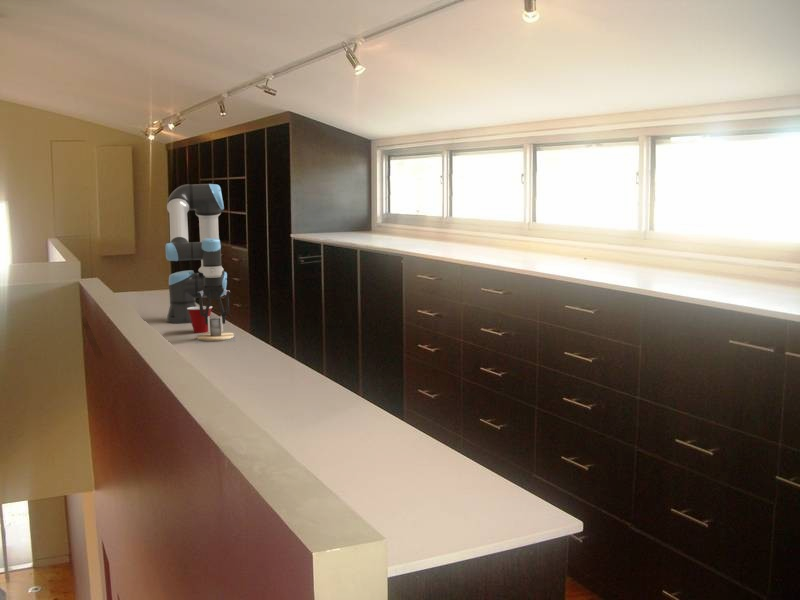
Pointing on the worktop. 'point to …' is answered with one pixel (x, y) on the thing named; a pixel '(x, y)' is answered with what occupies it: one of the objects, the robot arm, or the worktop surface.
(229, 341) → the mat
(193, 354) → the worktop surface
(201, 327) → the plastic cup
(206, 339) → the lid
